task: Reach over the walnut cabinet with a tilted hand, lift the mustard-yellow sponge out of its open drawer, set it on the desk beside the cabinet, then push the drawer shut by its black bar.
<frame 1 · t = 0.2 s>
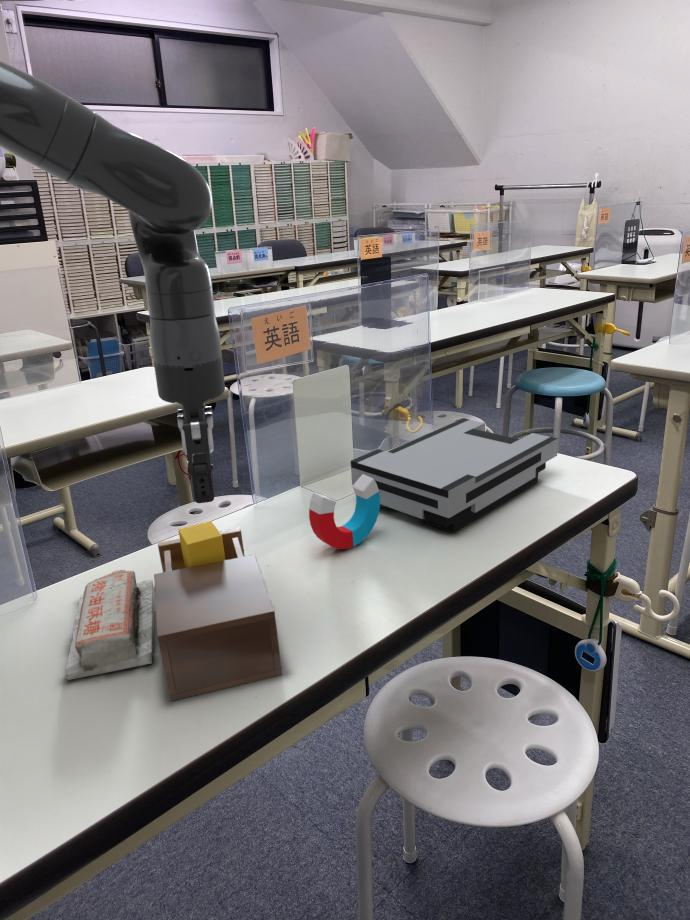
hand: (203, 486, 83), 19 cm above the table, tool pointing down, fingers open, 8 cm apart
packaged product: (115, 632, 89), on the table
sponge: (209, 591, 92), point 2 cm above the table, touching drawer
cabinet: (220, 652, 83), on the table
magnet: (348, 545, 106), on the table
drawer: (205, 570, 93), point 4 cm above the table, slide at 9.1 cm, touching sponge
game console: (457, 489, 123), on the table
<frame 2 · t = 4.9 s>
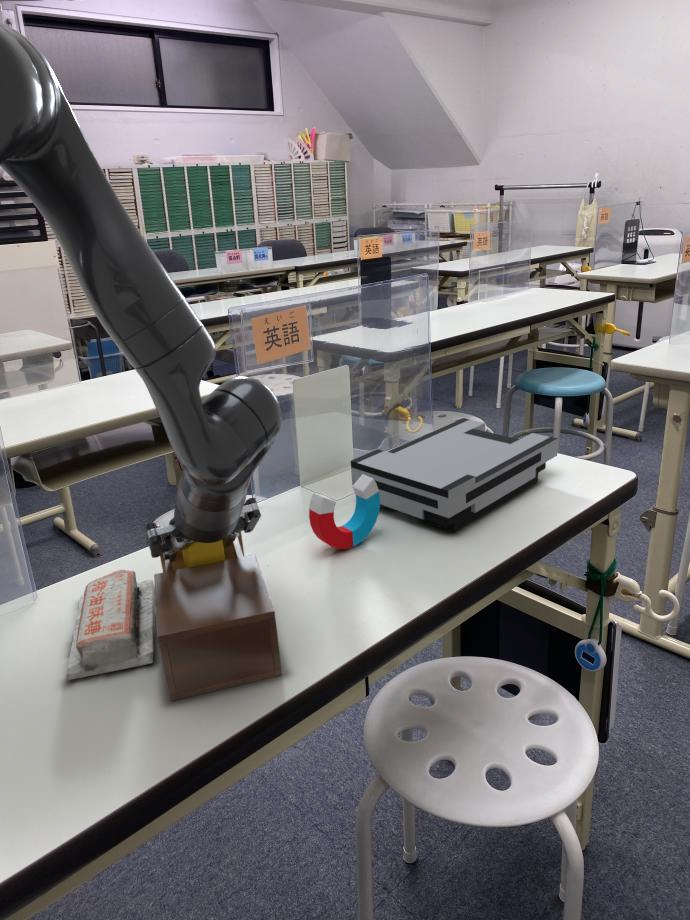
hand: (197, 547, 91), 8 cm above the table, tool tilted 45°, fingers open, 7 cm apart
drawer: (205, 569, 93), point 4 cm above the table, slide at 9.4 cm, touching gripper, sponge
everything else where it was.
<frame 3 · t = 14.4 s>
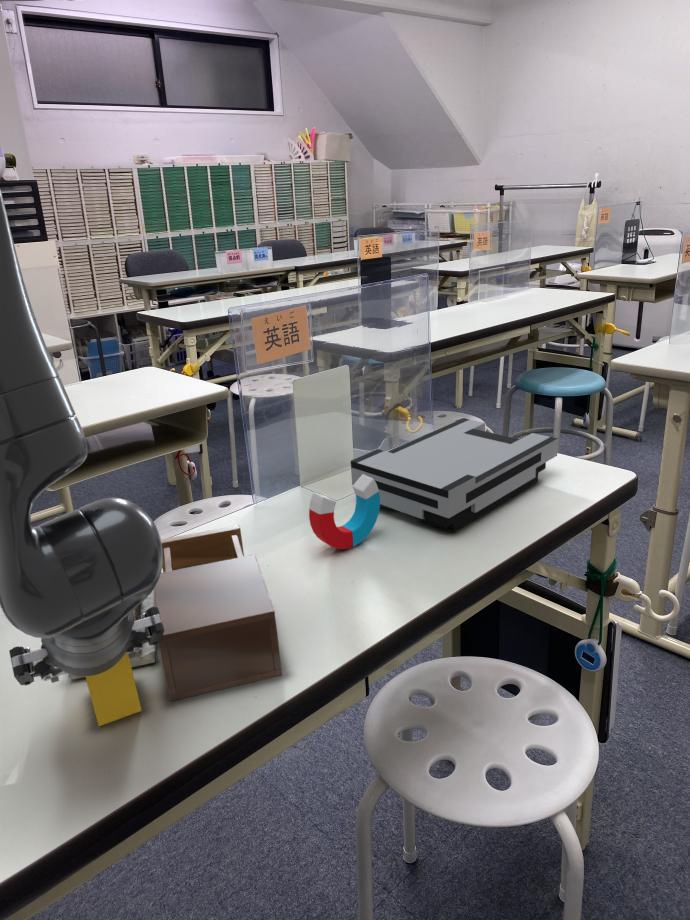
hand: (91, 660, 73), 6 cm above the table, tool tilted 45°, fingers open, 7 cm apart
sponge: (116, 704, 75), on the table, touching gripper
drawer: (205, 567, 94), point 4 cm above the table, slide at 9.9 cm
everything else where it was.
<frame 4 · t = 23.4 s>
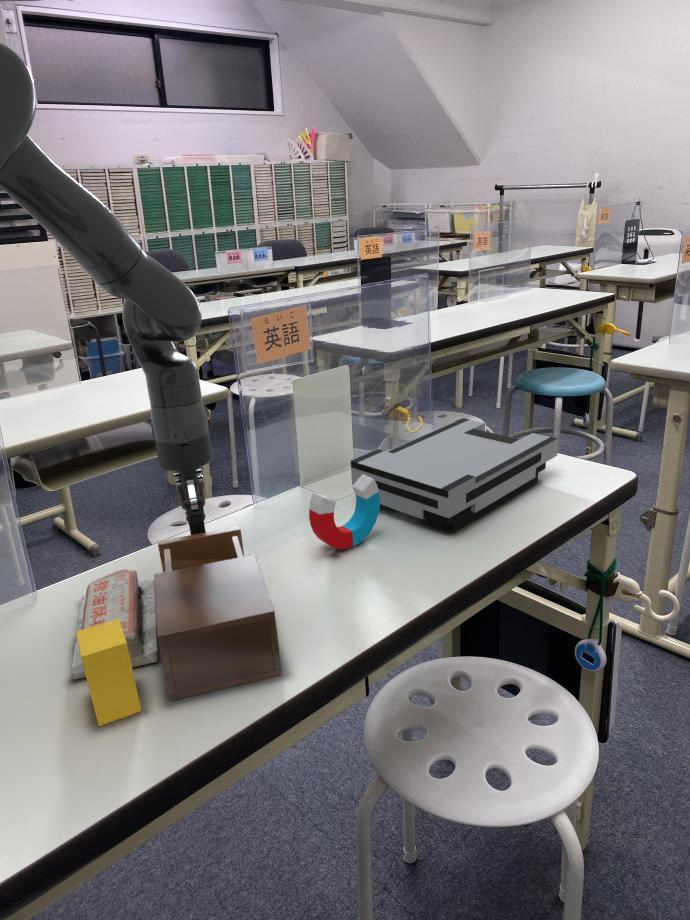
hand: (199, 540, 102), 4 cm above the table, tool pointing down, fingers closed
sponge: (116, 704, 75), on the table
drawer: (205, 568, 93), point 4 cm above the table, slide at 9.6 cm, touching gripper
everything else where it was.
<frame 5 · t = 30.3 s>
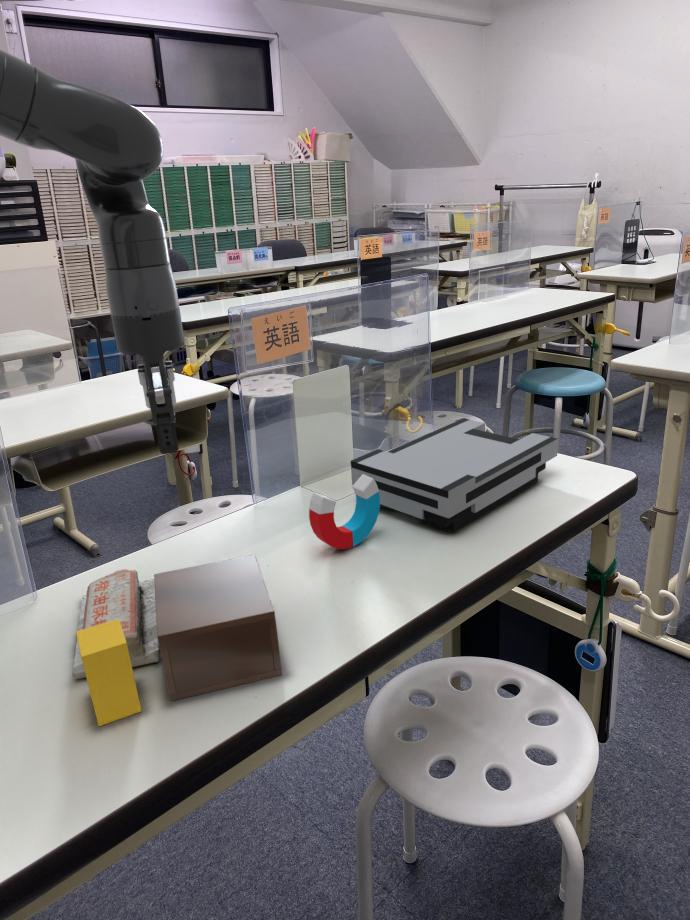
hand: (169, 451, 83), 23 cm above the table, tool pointing down, fingers closed
drawer: (212, 605, 85), point 4 cm above the table, slide at 0.0 cm
everything else where it was.
at the end: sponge inside the target area (0.8 cm from its centre), on the table; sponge tilted 0°; drawer slide at 0.0 cm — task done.
